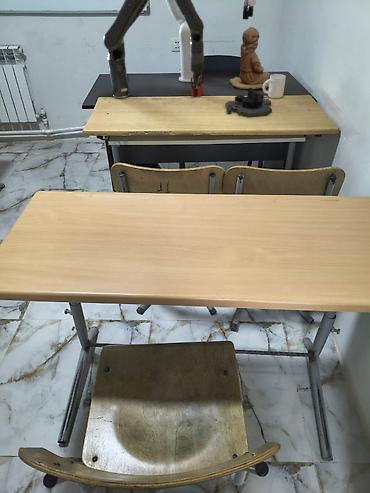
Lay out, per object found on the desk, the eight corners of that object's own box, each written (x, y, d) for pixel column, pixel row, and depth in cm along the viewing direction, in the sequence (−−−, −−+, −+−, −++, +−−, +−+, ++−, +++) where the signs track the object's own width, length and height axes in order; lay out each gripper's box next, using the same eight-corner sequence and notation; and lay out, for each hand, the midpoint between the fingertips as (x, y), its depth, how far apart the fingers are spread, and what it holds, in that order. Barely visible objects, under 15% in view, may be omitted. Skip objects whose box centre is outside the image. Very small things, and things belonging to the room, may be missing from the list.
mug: (263, 99, 195) (266, 79, 188) (259, 94, 201) (261, 75, 194) (285, 97, 196) (288, 77, 189) (279, 93, 202) (282, 73, 196)
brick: (199, 96, 202) (199, 88, 199) (191, 95, 203) (191, 87, 201) (202, 94, 205) (202, 85, 202) (194, 93, 207) (194, 85, 204)
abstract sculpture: (232, 99, 169) (222, 86, 184) (231, 118, 175) (221, 105, 190) (283, 94, 172) (268, 83, 187) (280, 114, 178) (266, 101, 193)
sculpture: (274, 90, 207) (281, 30, 187) (232, 91, 207) (235, 31, 188) (266, 76, 228) (272, 21, 208) (228, 77, 228) (231, 23, 209)
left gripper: (198, 65, 187) (198, 98, 198) (208, 58, 197) (207, 91, 208) (185, 64, 189) (186, 97, 200) (195, 57, 199) (195, 89, 210)
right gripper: (253, -18, 186) (250, 20, 197) (261, -21, 198) (257, 15, 209) (239, -18, 188) (237, 20, 199) (247, -21, 200) (245, 15, 211)
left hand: (197, 93), depth 204 cm, fingers closed on brick, 5 cm apart
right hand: (247, 17), depth 204 cm, fingers open, 9 cm apart
